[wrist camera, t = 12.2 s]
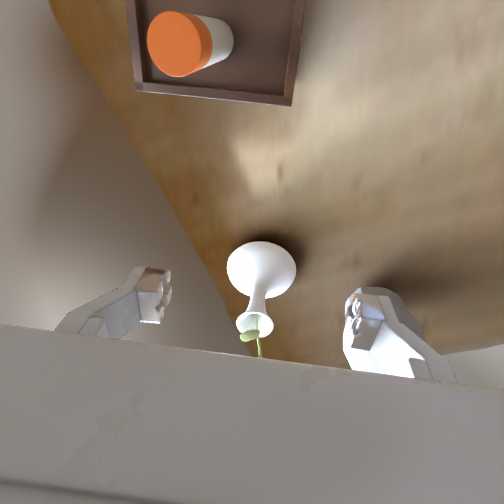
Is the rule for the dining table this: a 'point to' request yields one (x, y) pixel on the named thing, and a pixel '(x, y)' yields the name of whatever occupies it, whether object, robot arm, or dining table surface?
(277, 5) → the small wooden shelf
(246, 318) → the flower in vase
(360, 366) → the bottle
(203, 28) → the marker
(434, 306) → the dining table surface
